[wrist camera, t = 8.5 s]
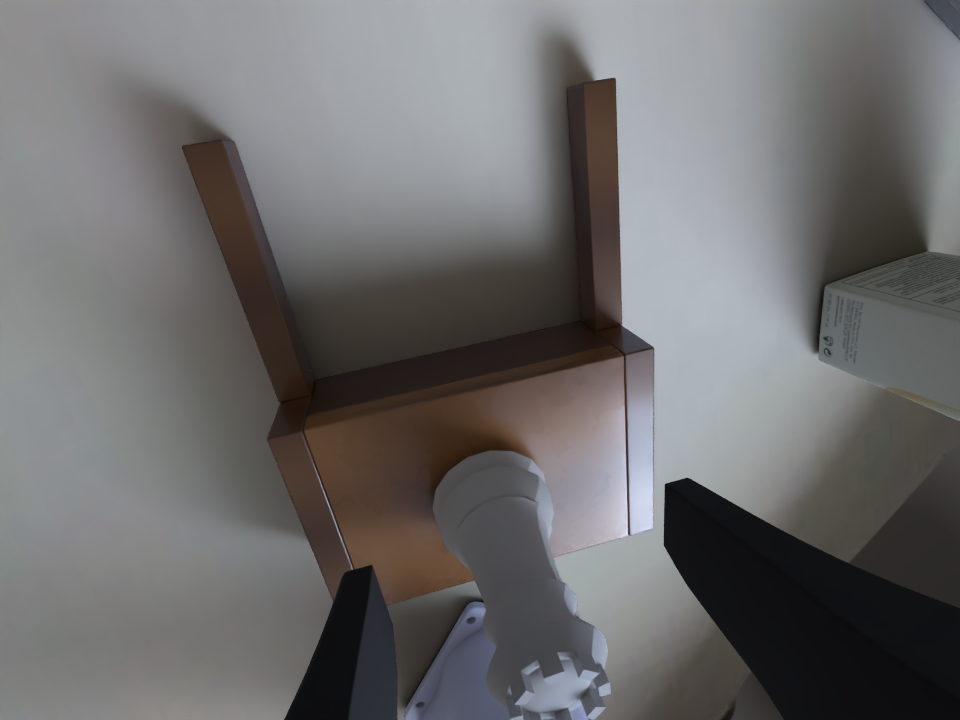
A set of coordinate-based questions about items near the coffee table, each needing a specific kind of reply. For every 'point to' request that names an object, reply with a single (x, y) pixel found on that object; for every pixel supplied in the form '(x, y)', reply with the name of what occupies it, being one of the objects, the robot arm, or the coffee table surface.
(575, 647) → the rook chess piece
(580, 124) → the brown u-shaped piece
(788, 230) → the coffee table surface
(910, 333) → the cosmetic box
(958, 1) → the smartphone
